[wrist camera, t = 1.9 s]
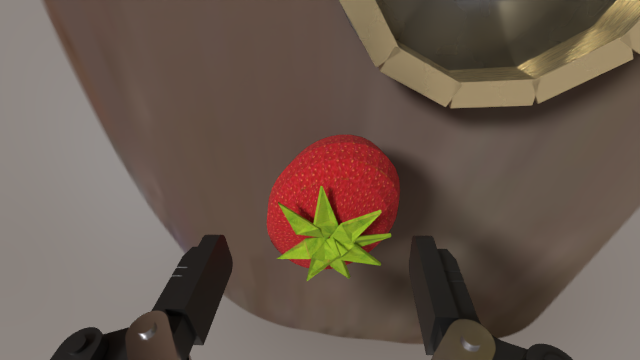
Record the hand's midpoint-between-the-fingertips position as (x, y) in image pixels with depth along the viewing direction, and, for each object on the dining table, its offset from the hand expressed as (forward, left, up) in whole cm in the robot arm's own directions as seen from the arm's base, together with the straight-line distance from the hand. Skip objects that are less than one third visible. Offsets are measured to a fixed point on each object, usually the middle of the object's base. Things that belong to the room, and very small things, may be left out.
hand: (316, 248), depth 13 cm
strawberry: (0, +1, -8) cm, 8 cm away
